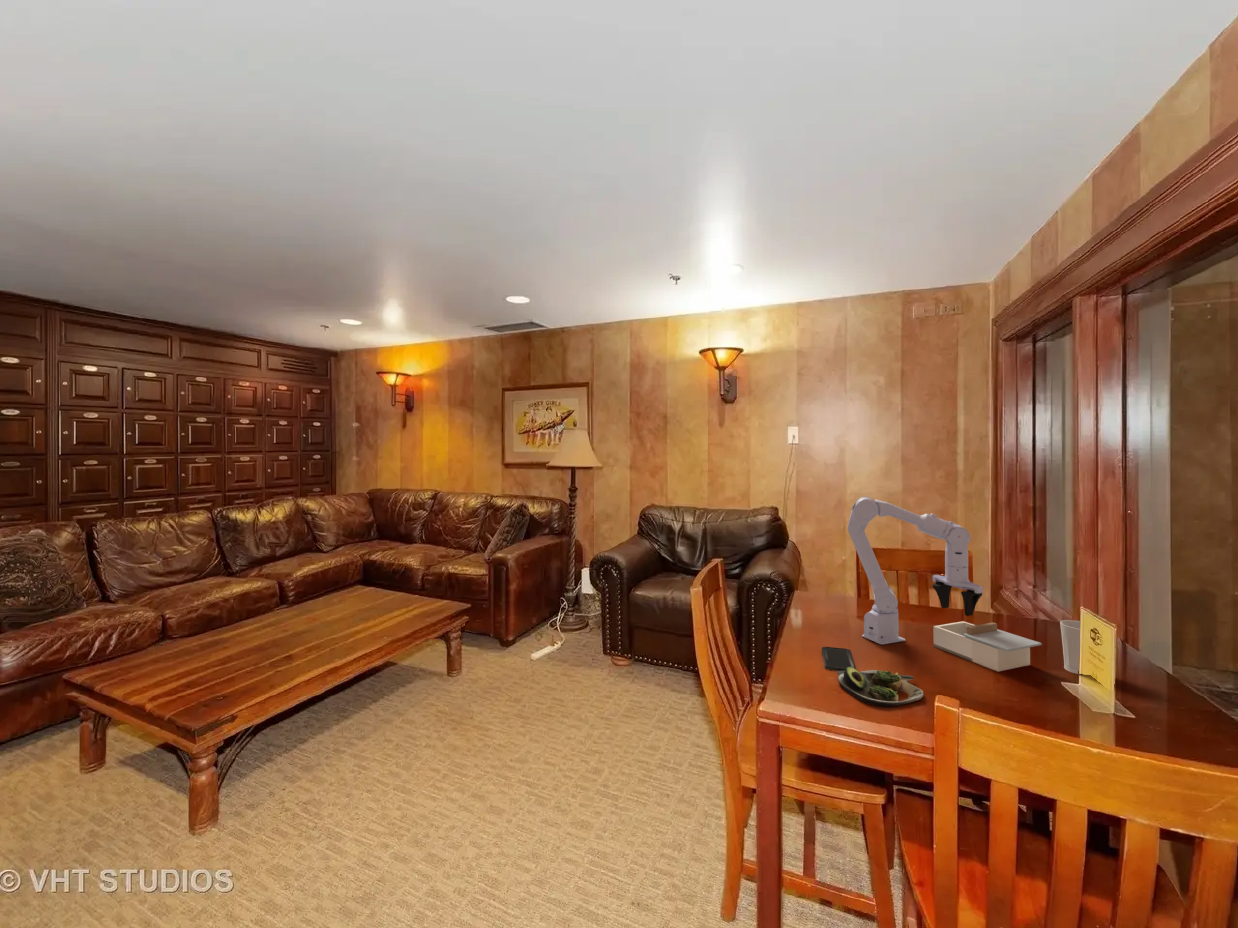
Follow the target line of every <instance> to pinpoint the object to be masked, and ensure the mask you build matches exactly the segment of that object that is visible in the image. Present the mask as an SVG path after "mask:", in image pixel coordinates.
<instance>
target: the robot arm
mask: <svg viewBox="0 0 1238 928" xmlns="http://www.w3.org/2000/svg"><path fill="white" fill-rule="evenodd" d="M877 516H878V517H879V518H883V517H887V516H888V517H893V518H896V519H898V520H900V521H903V522H907V523H908V524H909V523H910V524H912V525H915V526H916V528H917V530H918V532H920V533H923V534H926V535H928V536H931V537H933V538H936V539H939V540H945V549H944V552H945V553H944V567H945V568H944V571H945V572H944V573H945V574H944V576H943V575H939V574H933V575H932V582H933V584H932V588H933V589H934V590H935V592H936V595H937V596H938V600H939V603H940V605H941V606H940V607H941V609H948V608H949V607H950V596H951V591H952V587H955V588H958V589H961V590H964V591H961V592H960V594H961V596H962V600H963V604H964V606H963V607H964V608H963V609H964V610H963V611H964V615H965V616H967V617H970V616H973V615H974V611H975V609H976V605H977V603H978V601H979V600H980V599H981V597H982V596H983V593H984V587H983V586H982V585H979V584H978V583H975V582H972V581H970V579H969V550H968V548H969V546H968V544H969V543H970V541H971V539H972V537H971V536H970V533H969V531H968V529H966V528H965V527H963V526H961V525H959V524H958V523H954V521H951V520H949V521H948V520H945V519H942V518H940V517H937V514H935V513H932V512H931V513H930V514H929V513H924V514H921V515H920V514H916V513H915V512H912V511H910V510H907V509H905V508H902V507H900V506H897V505H895V504H893V503H890V502H887V501H884V500H880V499H876V498H874V499H873V498H871V497H870V496H862V497H859V498H857V499H856V501H855V502H854V504H853V505H852V507H851V511H850V515H849V519H848V523H847V532H848V534H849V537H850V539H851V541H852V545H853V546H854V548H855V551H856V553H857V555H858V558H859V559H860V562H861V564H862V567H863V570H864V573H865V574H866V577H867V579H868V581H869V584H870V586H871V589H872V597H873V601H874V604H873V605H872V607H871V610H870V611H868V612H866V613H865V614H864V617H863V634H862V635H861V636H862V638H863V637H864V639H865V638H866V639H867V640H870V641H873V642H875V643H877V644H879V645H883V646H884V645H888V644H894V643H899V642H905V641H906V639H905V638H904V637H901V636H899V608H898V605H899V602H898V598H897V597H896V592H895V591H894V590H893V588H892V587H891V586H889V585H888V583H887V580H886V578H885V576H884V574H883V571H882V568H881V566H880V564H879V562H878V560H877V557H876V555H875V553H874V550H873V548H872V545H871V544H870V541H869V538H868V536H867V534H866V532H865V530H866V528H867V527H868V525H869V523H870V522H871V521H872V520H874V518H876V517H877Z"/></svg>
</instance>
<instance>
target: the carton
mask: <svg viewBox="0 0 1238 928" xmlns="http://www.w3.org/2000/svg"><path fill="white" fill-rule="evenodd" d="M974 625H975V624H974V623H970V622H966V621H964V620H962V621H957V622H951V623H950V622H949V623H945V624H940V625H939V624H938V625H933V632H932V633H933V647H935V648H937V649H940V650H942V651H945V652H947V653H950V654H952V655H955V656H957V657H960V658H961V659H965V660H967V661H970V662H972V663H976V664H978V665H980V666H982V667H985V668H988V669H989V670H993V671H995V672H1003V671H1007V670H1012V669H1017V668H1021V667H1022V668H1023V667H1027V666H1030V665H1031V647H1029V648H1024V649H1019V650H1013V651H1008V652H1007V651H1005V650H1002V649H999V648H996V647H993V646H990V645H988V644H985V643H982V642H979V641H976V640H973V639H970V638H968V637H965V636H962V634H965V633H967V627H968V626H974Z"/></svg>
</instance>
